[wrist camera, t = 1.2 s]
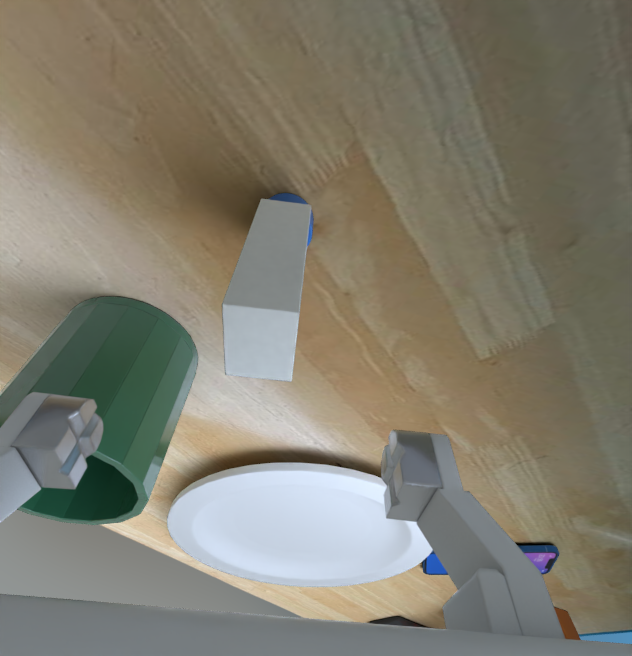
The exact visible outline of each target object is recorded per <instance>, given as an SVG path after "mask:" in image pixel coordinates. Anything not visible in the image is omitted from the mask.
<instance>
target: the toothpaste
mask: <svg viewBox="0 0 632 656" xmlns="http://www.w3.org/2000/svg"><path fill="white" fill-rule="evenodd" d="M313 220H314V219H313V213H312V210H311V205H308V204H307V203H306V201H304V200H303V199H302V198H300V197H299V196H297V195H294V194H290V193H281V194H277V195H274V196H272V197H271V198H269V199H261V200H260V203H259V206H258V208H257V211H256V214H255V217H254V219H253V222H252V225H251V227H250V230H249V233H248V235H247V238H246V241H245V243H244V246H243V249H242V251H241V254H240V257H239V260H238V262H237V265H236V268H235V270H234V273H233V276H232V278H231V281H230V284H229V286H228V289H227V292H226V294H225V297H224V300H223V303H222V318H223V340H224V361H225V374H226V375H232V376H242V377H251V378H260V379H270V380H279V381H288V382H291V381H292V374H293V365H294V357H295V348H296V339H297V330H298V322H299V313H300V304H301V295H302V286H303V277H304V268H305V259H306V251H307V246H308V245H309V243H310V241H311V239H312V232H313Z"/></svg>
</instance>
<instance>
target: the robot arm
mask: <svg viewBox="0 0 632 656" xmlns="http://www.w3.org/2000/svg"><path fill="white" fill-rule="evenodd" d="M96 409H97V405H96V403H95V401H94V399H88V398H79V397H71V396H63V395H55V394H47V393H38V392H32V393H30V394H29V395H27V396H26V397H25V398H24V399H23V400H22V402H21V403H20V404H19V405H18V407H17V408H16V409H15V410H14V411H13V413H12V414H11V415H10V416H9V418H8V419H7V420H6V421H5V423H4V424H3V425H2V426H1V428H0V522H2V521H3V520H4V519H5V518H7V517H8V516H9V515H10V514H11V513H13V512H14V511H15V510H16V509H18V508H19V507H20V506H21V505H23V504H24V503H25V502H26V501H27V500H29V499H30V498H31V497H32V496H34V495H35V494H36V493H37V492H39V491H40V490H41V487H45V488H60V489H75V488H76V486H77V485H78V483H79V481H80V479H81V477H82V475H83V474H84V472H85V470H86V468H87V462H86V458H87V457H88V456H90V455H91V454H93V453H94V452H95V451H96V450H97V448H98V446H99V444H100V442H101V438H102V434H103V422H102V419H101V417H100V416H98V415H97V414H96V413H94V412H95V410H96ZM381 474H382V480H383V481H384V483H385V484H386V485H387V488H386V490H385V492H384V504H385V513H386V518H387V519H396V520H404V521H412V522H417V523H416V524H417V526H418V527H419V529H420V530H421V532H422V534H423V535H424V537H425V538H426V540H427V541H428V543H429V545H430V546H431V548H432V549H433V551H434V552H435V554H436V556H437V557H438V559H439V560H440V562H441V564H442V565H443V567H444V568H445V570H446V571H447V573H448V575H449V576H450V578H451V579H452V581H453V582H454V584H455V586H456V587H457V589H458V591H457V592H456V593H455V594H454V595H453V596H452V597H451V598H450V599H449V600H448V601H447V602H446V603H445V605H444V606H443V607H442V608H443V614H444V620H445V626H446V629H434V628H422V627H409V626H397V625H384V624H372V623H359V622H347V621H334V620H322V619H309V618H295V617H284V616H283V617H282V616H271V615H259V614H245V613H234V612H221V611H208V610H196V609H184V608H183V609H182V608H171V607H158V606H145V605H133V604H121V603H108V602H96V601H83V600H71V599H57V598H45V597H32V596H20V595H7V594H0V656H632V644H623V643H610V642H598V641H584V640H573V639H565V636H564V634H563V631H562V628H561V625H560V623H559V620H558V617H557V615H556V612H555V609H554V606H553V604H552V601H551V598H550V596H549V593H548V590H547V587H546V585H545V582H544V579H543V577H542V574H541V572H540V571H539V569H538V568H537V567H536V566H535V565H534V564H533V563H532V562H531V561H530V559H529V558H528V557H527V556H526V555H525V554H524V553H523V552H522V550H521V549H520V548H519V547H518V546H517V545H516V544H515V543H514V541H513V540H512V539H511V538H510V537H509V536H508V535H507V534H506V532H505V531H504V530H503V529H502V528H501V527H500V526H499V525H498V524H497V522H496V521H495V520H494V519H493V518H492V517H491V516H490V515H489V513H488V512H487V511H486V510H485V509H484V508H483V507H482V506H481V504H480V503H479V502H478V501H477V500H476V499H475V498H474V497H473V495H472V494H471V493H470V492H469V491H463V487H462V483H461V480H460V476H459V473H458V469H457V465H456V462H455V458H454V455H453V451H452V447H451V444H450V440H449V438H448V437H447V435H442V434H431V433H426V432H415V431H404V430H392V431H391V432H390V435H389V444H388V445H387V446H385V447H384V450H383V453H382V460H381Z"/></svg>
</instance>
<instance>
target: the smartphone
mask: <svg viewBox="0 0 632 656" xmlns="http://www.w3.org/2000/svg"><path fill="white" fill-rule="evenodd" d="M518 547H519V548H520V549H521V550H522V552H523V553H524V554H525V555H526V556H527V557H528V558H529V559H530V561H531V562H532V563H533V564H534V565H535V566H536V567H537V568H538V569H539V571H540V572H541V574H546V573H548V572H550V570H551V568H552V567H553V565H554V563H555V561H556V560H557V558H558V556H559V552H558V549H557V547H555V546H551V545H536V546H518ZM422 567H423V572H424V573H425V574H429V575H448V573H447V571H446V570H445V568H444V567H443V565H442V564H441V562H440V560H439V559H438V557H437V556H436V554H435V552H434V551H433V550H432V552H431V553H430V555H429V556H428V557H427V558H425V559H424V560H423V561H422Z"/></svg>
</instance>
